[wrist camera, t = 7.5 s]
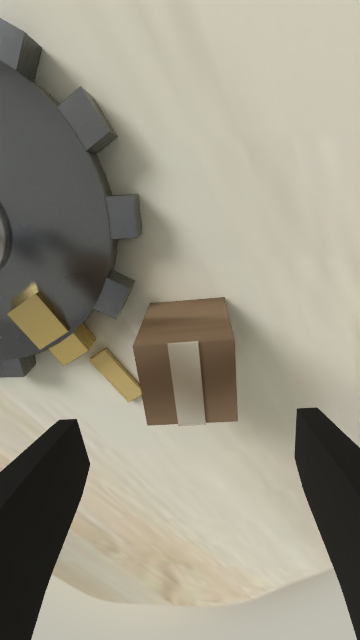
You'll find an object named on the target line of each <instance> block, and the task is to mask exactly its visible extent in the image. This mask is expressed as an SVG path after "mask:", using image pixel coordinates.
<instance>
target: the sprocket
mask: <svg viewBox="0 0 360 640" xmlns="http://www.w3.org/2000/svg"><path fill="white" fill-rule="evenodd" d="M41 50H42V47H41V46H40V45H38V44H37V43H36V42H35V41H34V40H33V39H32V38H31V37H30V36H28V35H27V34H26V33H25V32H24V31H22V30H20V29H18V28H17V27H15V26H13V25H11V24H10V23H8V22H6V21H4V20H3V19H1V18H0V377H25V376H26V374H27V373H28V372H29V371H30V370H31V369H32V368H33V367H34V366H35V365H36V362H35V358H34V354H37V353H40V352H42V351H45V350H48V349H49V351H50V352H51V353H52V354H53V355H54V356H55V357H56V358H57V359H58V360H59V362H60V363H61V364H62V365H63V366H64V365H66V364H68V363H69V362H71V361H73V360H74V359H76V358H77V357H79V356H81V355H82V354H84V353H86V352H87V351H89V349H90V348H91V346H92V345H93V343H94V342H95V340H96V338H95V337H94V336H93V335H92V333H91V332H90V331H89V330H88V329H87V327H86V326H85V325H84V324H83V322H84V321H85V320H86V318H87V317H88V316H89V315H90V314H91V313H92V311H93V310H94V309H95V310H97V311H99V312H102V313H104V314H106V315H108V316H110V317H112V318H114V319H117V317H118V315H119V314H120V312H121V311H122V309H123V307H124V304H125V302H126V300H127V298H128V296H129V294H130V291H131V289H132V287H133V285H134V283H135V281H134V280H132V279H130V278H128V277H126V276H124V275H122V274H120V273H117V272H115V271H113V269H114V263H115V258H116V252H117V239H121V238H137V237H139V236H140V235H141V234H142V225H141V216H140V206H139V196H138V194H135V195H119V196H112V194H111V191H110V188H109V184H108V181H107V178H106V175H105V173H104V171H103V168H102V166H101V164H100V162H99V160H98V157H97V155H96V154H97V153H98V152H99V151H101V150H102V149H103V148H104V147H105V146H107V145H108V144H109V143H110V142H112V141H113V140H114V139H115V138H116V137H118V136H117V135H116V133H115V131H114V130H113V128H112V127H111V125H110V124H109V122H108V120H107V119H106V117H105V116H104V114H103V113H102V111H101V110H100V108H99V106H98V105H97V103H96V102H95V100H94V99H93V97H92V96H91V95H90V94H89V93H88V92H87V91H85V90H84V89H83V88H82V87H81V86H80V87H79V88H78V89H77V90H76V91H75V92H74V93H73V94H71V95H70V96H69V97H68V98H67V99H66V100H65V101H64V102H63V103H62V104H59V103H58V102H57V101H56V100H55V99H54V98H53V97H52V96H50V95H49V94H48V93H47V92H46V91H44V90H43V89H42V88H41V87H40V86H38V85H37V84H36V83H35V82H34V79H35V75H36V71H37V67H38V63H39V58H40V54H41Z"/></svg>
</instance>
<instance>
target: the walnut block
mask: <svg viewBox="0 0 360 640" xmlns="http://www.w3.org/2000/svg"><path fill="white" fill-rule="evenodd" d="M133 350H134V355H135V361H136V366H137V372H138V377H139V382H140V388H141V393H142V399H143V404H144V409H145V415H146V420H147V425H167V424H178V426H187V425H206V423H210V422H232V421H238V414H237V390H236V366H235V342H234V336H233V331H232V327H231V323H230V319H229V315H228V311H227V306H226V302H225V298H224V297H222V298H210V299H198V300H186V301H173V302H161V303H150V305H149V308H148V310H147V313H146V315H145V318H144V320H143V323H142V325H141V328H140V330H139V332H138V335H137V337H136V340H135V342H134V345H133Z"/></svg>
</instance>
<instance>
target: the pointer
mask: <svg viewBox="0 0 360 640" xmlns="http://www.w3.org/2000/svg"><path fill="white" fill-rule="evenodd" d="M89 361H90V362H91V363H92V364H93V365H94V366H95V367H96V368H97V369H98V370H99V371H100V372H101V374H102V375H103V376H104V377H105V378H106V379H107V380H108V381H109V382H110V383H111V384H112V385H113V386H114V387H115V388H116V390H117V391H118V392H119V393H120V394H121V395H122V396H123V397H124V398H125V399H126V400H127V401H128V402H130V401H132V400H134V399H135V398H137V397H139V396H140V395H142V393H141V388H140V385H139V384H138V383H137V382H136V381H135V379H134V378H133V377H132V376H131V375H130V374H129V373H128V372H127V371H126V370H125V368H124V367H123V366H122V365H121V364H120V363H119V362H118V361H117V360H116V358H115V357H114V356H113V355H112V354H111V353H110V352H109V351H108V350H107V349H106V348H105V349H104V350H102V351H101V352H99V353H98V354H96V355H95V356H93V357H92V358H91V359H90V360H89Z"/></svg>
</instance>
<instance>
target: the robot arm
mask: <svg viewBox="0 0 360 640" xmlns="http://www.w3.org/2000/svg"><path fill="white" fill-rule="evenodd" d="M295 461H296V465H297V468H298V472H299V476H300V480H301V483H302V487H303V490H304V493H305V495H306V498H307V501H308V503H309V506H310V508H311V511H312V514H313V516H314V519H315V521H316V524H317V526H318V529H319V531H320V534H321V537H322V539H323V542H324V544H325V547H326V549H327V552H328V554H329V557H330V559H331V562H332V564H333V567H334V570H335V572H336V575H337V577H338V580H339V583H340V586H341V589H342V592H343V595H344V598H345V601H346V604H347V607H348V611H349V614H350V618H351V621H352V624H353V627H354V631H355V633H356V637H357V640H360V448H359V447H358V446H357V445H356V444H355V443H354V442H353V441H352V440H351V439H350V438H349V437H347V436H346V435H345V434H344V433H343V432H342V431H341V430H340V429H339V428H338V427H337V426H336V425H335V424H334V423H333V422H332V421H331V420H330V419H329V418H328V417H327V416H326V415H325V414H323V413H322V412H321V411H320V410H319V409H318V408H299V409H297V418H296V439H295ZM89 467H90V462H89V459H88V455H87V452H86V449H85V445H84V442H83V438H82V435H81V432H80V428H79V425H78V422H77V419H68V420H59V421H58V422H56V423H55V424H54V425H53V426H52V427H50V428H49V429H48V430H47V431H46V432H45V433H44V434H43V435H41V436H40V437H39V438H38V439H37V440H36V441H35V442H34V443H33V444H31V445H30V446H29V447H28V448H27V449H26V450H25V451H24V452H23V453H21V454H20V455H19V456H18V457H17V458H16V459H15V460H14V461H12V462H11V463H10V464H9V465H8V466H7V467H6V468H4V469H3V470H2V471H1V472H0V640H31V638H32V634H33V631H34V628H35V624H36V621H37V618H38V614H39V611H40V608H41V604H42V601H43V597H44V594H45V591H46V588H47V586H48V583H49V580H50V577H51V574H52V572H53V569H54V566H55V564H56V561H57V559H58V556H59V554H60V551H61V549H62V546H63V544H64V541H65V538H66V536H67V533H68V531H69V528H70V526H71V523H72V521H73V518H74V515H75V513H76V510H77V508H78V505H79V502H80V500H81V497H82V494H83V490H84V486H85V483H86V479H87V475H88V471H89Z"/></svg>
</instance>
